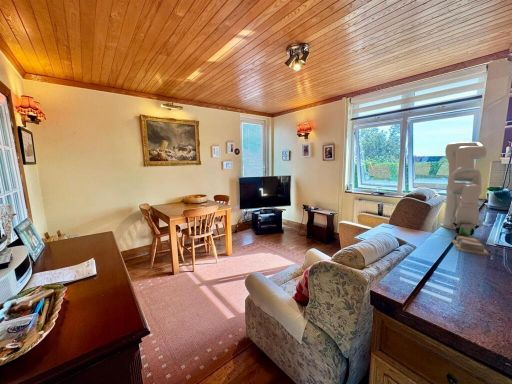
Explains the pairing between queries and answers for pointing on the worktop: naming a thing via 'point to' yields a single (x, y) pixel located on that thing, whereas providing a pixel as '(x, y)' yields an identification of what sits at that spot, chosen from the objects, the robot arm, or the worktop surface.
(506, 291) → the worktop surface
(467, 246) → the beige rectangular frame
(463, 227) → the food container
